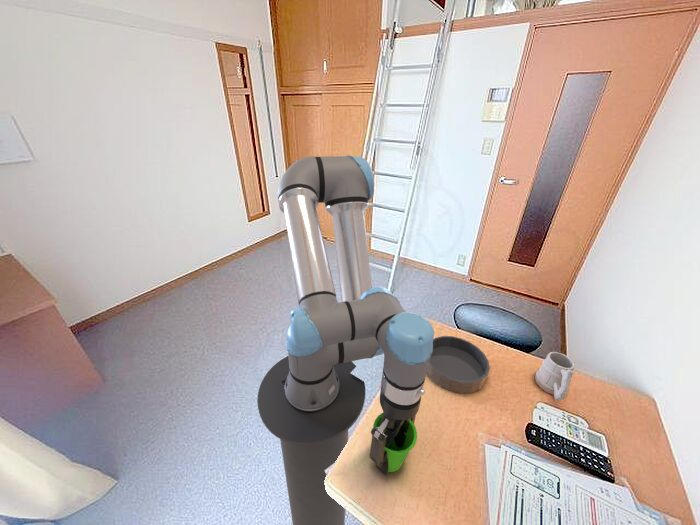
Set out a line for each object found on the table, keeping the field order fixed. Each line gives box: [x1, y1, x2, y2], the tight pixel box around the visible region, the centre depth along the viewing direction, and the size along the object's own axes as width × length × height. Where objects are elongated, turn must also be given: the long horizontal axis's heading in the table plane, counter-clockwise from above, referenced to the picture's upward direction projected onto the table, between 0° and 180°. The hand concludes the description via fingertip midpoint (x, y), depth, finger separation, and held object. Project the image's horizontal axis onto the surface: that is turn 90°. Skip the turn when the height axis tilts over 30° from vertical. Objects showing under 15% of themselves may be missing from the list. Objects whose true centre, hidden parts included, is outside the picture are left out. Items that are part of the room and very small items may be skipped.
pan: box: [426, 335, 491, 394], centre depth 87 cm, size 18×18×4 cm
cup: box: [372, 412, 418, 473], centre depth 61 cm, size 9×9×11 cm
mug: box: [534, 351, 576, 402], centre depth 79 cm, size 8×12×12 cm, turn 161°
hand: (389, 459), depth 64 cm, fingers closed on cup, 5 cm apart
